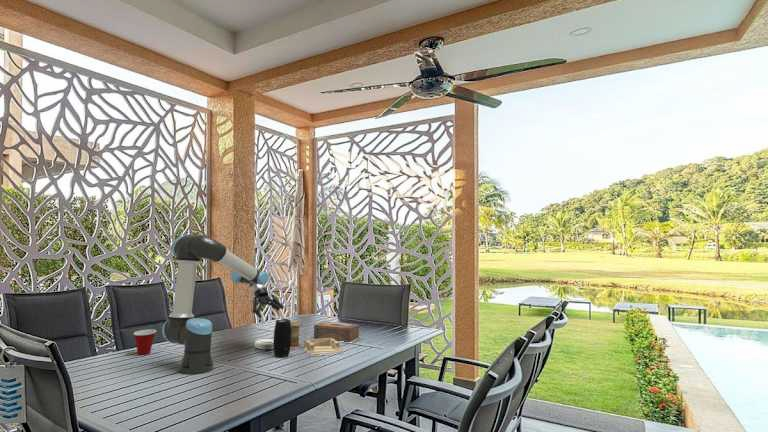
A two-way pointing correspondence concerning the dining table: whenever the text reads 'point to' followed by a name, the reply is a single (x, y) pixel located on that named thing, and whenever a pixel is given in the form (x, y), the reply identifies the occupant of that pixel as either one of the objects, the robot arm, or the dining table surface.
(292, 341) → the bobbin
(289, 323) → the portable speaker
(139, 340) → the plastic cup
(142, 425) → the dining table surface
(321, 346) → the amber glass ashtray
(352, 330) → the tissue box cover
